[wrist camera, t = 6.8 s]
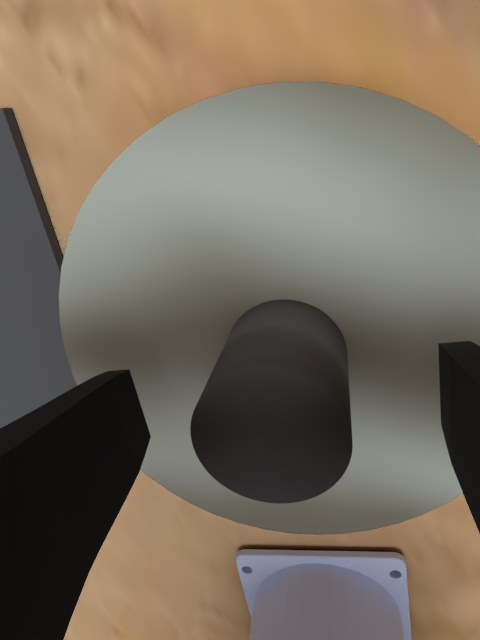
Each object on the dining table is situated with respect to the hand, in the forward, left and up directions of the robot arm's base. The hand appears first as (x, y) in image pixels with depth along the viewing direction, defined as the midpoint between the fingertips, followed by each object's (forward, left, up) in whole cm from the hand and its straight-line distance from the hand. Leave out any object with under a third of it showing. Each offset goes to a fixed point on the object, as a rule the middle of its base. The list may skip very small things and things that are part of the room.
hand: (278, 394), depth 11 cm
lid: (0, 0, -2) cm, 3 cm away
